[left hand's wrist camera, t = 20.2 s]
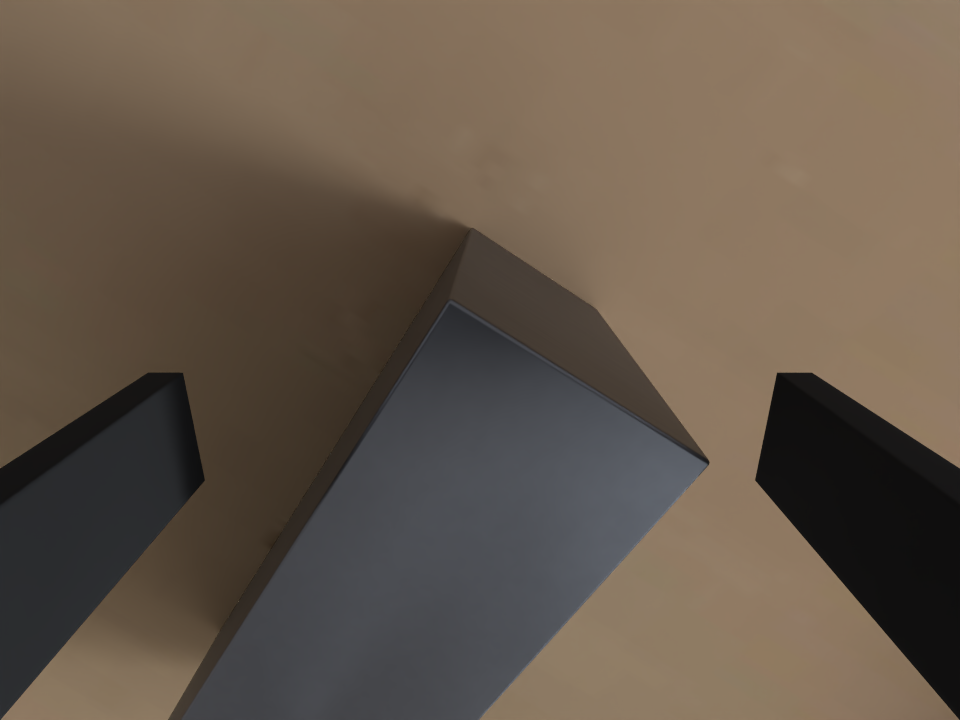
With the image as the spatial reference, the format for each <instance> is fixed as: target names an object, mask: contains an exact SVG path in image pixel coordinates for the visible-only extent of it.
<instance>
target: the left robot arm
mask: <svg viewBox="0 0 960 720" xmlns="http://www.w3.org/2000/svg"><path fill="white" fill-rule="evenodd" d="M204 481H205V479H204V474H203V469H202V464H201V459H200V454H199V449H198V445H197V440H196V435H195V430H194V425H193V420H192V415H191V410H190V405H189V400H188V396H187V391H186V386H185V381H184V376H183V373H147V374H146V375H144V376H142V377H141V378H139V379H138V380H136V381H135V382H133V383H132V384H130V385H129V386H127V387H125V388H124V389H122V390H121V391H119V392H118V393H116V394H115V395H113V396H112V397H110V398H108V399H107V400H105V401H104V402H102V403H101V404H99V405H98V406H96V407H95V408H93V409H92V410H90V411H88V412H87V413H85V414H84V415H82V416H81V417H79V418H78V419H76V420H75V421H73V422H71V423H70V424H68V425H67V426H65V427H64V428H62V429H61V430H59V431H58V432H56V433H54V434H53V435H51V436H50V437H48V438H47V439H45V440H44V441H42V442H41V443H39V444H37V445H36V446H34V447H33V448H31V449H30V450H28V451H27V452H25V453H24V454H22V455H21V456H19V457H17V458H16V459H14V460H13V461H11V462H10V463H8V464H7V465H5V466H4V467H2V468H0V720H1V718H2V717H3V716H4V715H5V714H6V713H7V711H8V710H9V709H10V708H11V707H12V706H13V704H14V703H15V702H16V701H17V700H18V699H19V697H20V696H21V695H22V694H23V693H24V691H25V690H26V689H27V688H28V687H29V686H30V684H31V683H32V682H33V681H34V680H35V679H36V677H37V676H38V675H39V674H40V673H41V672H42V670H43V669H44V668H45V667H46V666H47V665H48V663H49V662H50V661H51V660H52V659H53V658H54V656H55V655H56V654H57V653H58V652H59V650H60V649H61V648H62V647H63V646H64V645H65V643H66V642H67V641H68V640H69V639H70V638H71V636H72V635H73V634H74V633H75V632H76V631H77V629H78V628H79V627H80V626H81V625H82V624H83V622H84V621H85V620H86V619H87V618H88V617H89V615H90V614H91V613H92V612H93V611H94V609H95V608H96V607H97V606H98V605H99V604H100V602H101V601H102V600H103V599H104V598H105V597H106V595H107V594H108V593H109V592H110V591H111V590H112V588H113V587H114V586H115V585H116V584H117V583H118V581H119V580H120V579H121V578H122V577H123V575H124V574H125V573H126V572H127V571H128V570H129V568H130V567H131V566H132V565H133V564H134V563H135V561H136V560H137V559H138V558H139V557H140V556H141V554H142V553H143V552H144V551H145V550H146V549H147V547H148V546H149V545H150V544H151V543H152V542H153V540H154V539H155V538H156V537H157V536H158V534H159V533H160V532H161V531H162V530H163V529H164V527H165V526H166V525H167V524H168V523H169V522H170V520H171V519H172V518H173V517H174V516H175V515H176V513H177V512H178V511H179V510H180V509H181V508H182V506H183V505H184V504H185V503H186V502H187V500H188V499H189V498H190V497H191V496H192V495H193V493H194V492H195V491H196V490H197V489H198V488H199V486H200V485H201V484H202V483H203V482H204ZM755 481H756V482H757V483H758V484H759V485H760V486H761V488H762V489H763V490H764V491H765V492H766V493H767V495H768V496H769V497H770V498H771V499H772V500H773V502H774V503H775V504H776V505H777V506H778V508H779V509H780V510H781V511H782V512H783V513H784V515H785V516H786V517H787V518H788V519H789V520H790V522H791V523H792V524H793V525H794V526H795V527H796V529H797V530H798V531H799V532H800V533H801V534H802V536H803V537H804V538H805V539H806V540H807V542H808V543H809V544H810V545H811V546H812V547H813V549H814V550H815V551H816V552H817V553H818V554H819V556H820V557H821V558H822V559H823V560H824V561H825V563H826V564H827V565H828V566H829V567H830V568H831V570H832V571H833V572H834V573H835V574H836V575H837V577H838V578H839V579H840V580H841V581H842V583H843V584H844V585H845V586H846V587H847V588H848V590H849V591H850V592H851V593H852V594H853V595H854V597H855V598H856V599H857V600H858V601H859V602H860V604H861V605H862V606H863V607H864V608H865V609H866V611H867V612H868V613H869V614H870V615H871V617H872V618H873V619H874V620H875V621H876V622H877V624H878V625H879V626H880V627H881V628H882V629H883V631H884V632H885V633H886V634H887V635H888V636H889V638H890V639H891V640H892V641H893V642H894V643H895V645H896V646H897V647H898V648H899V649H900V650H901V652H902V653H903V654H904V655H905V656H906V658H907V659H908V660H909V661H910V662H911V663H912V665H913V666H914V667H915V668H916V669H917V670H918V672H919V673H920V674H921V675H922V676H923V677H924V679H925V680H926V681H927V682H928V683H929V684H930V686H931V687H932V688H933V689H934V690H935V692H936V693H937V694H938V695H939V696H940V697H941V699H942V700H943V701H944V702H945V703H946V704H947V706H948V707H949V708H950V709H951V710H952V711H953V713H954V714H955V715H956V716H957V717H958V718H959V720H960V468H958V467H956V466H955V465H953V464H952V463H950V462H949V461H947V460H946V459H944V458H943V457H941V456H939V455H938V454H936V453H935V452H933V451H932V450H930V449H929V448H927V447H926V446H924V445H922V444H921V443H919V442H918V441H916V440H915V439H913V438H912V437H910V436H909V435H907V434H906V433H904V432H902V431H901V430H899V429H898V428H896V427H895V426H893V425H892V424H890V423H889V422H887V421H885V420H884V419H882V418H881V417H879V416H878V415H876V414H875V413H873V412H872V411H870V410H868V409H867V408H865V407H864V406H862V405H861V404H859V403H858V402H856V401H855V400H853V399H852V398H850V397H848V396H847V395H845V394H844V393H842V392H841V391H839V390H838V389H836V388H835V387H833V386H831V385H830V384H828V383H827V382H825V381H824V380H822V379H821V378H819V377H818V376H816V375H814V374H813V373H777V376H776V381H775V386H774V391H773V396H772V400H771V405H770V410H769V415H768V420H767V425H766V430H765V435H764V440H763V445H762V449H761V454H760V459H759V464H758V469H757V474H756V479H755Z"/></svg>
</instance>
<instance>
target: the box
mask: <svg viewBox="0 0 960 720" xmlns="http://www.w3.org/2000/svg"><path fill="white" fill-rule="evenodd" d="M708 465H709V460H708V459H707V457H706V456H705V455H704V453H703V452H702V451H701V449H700V448H699V447H698V445H697V444H696V442H695V441H694V440H693V438H692V437H691V436H690V434H689V433H688V432H687V430H686V429H685V428H684V426H683V425H682V424H681V422H680V421H679V420H678V418H677V417H676V416H675V414H674V413H673V412H672V410H671V409H670V408H669V406H668V405H667V403H666V402H665V401H664V399H663V398H662V397H661V395H660V394H659V393H658V391H657V390H656V389H655V387H654V386H653V385H652V383H651V382H650V381H649V379H648V378H647V377H646V375H645V374H644V373H643V371H642V370H641V369H640V367H639V366H638V364H637V363H636V362H635V360H634V359H633V358H632V356H631V355H630V354H629V352H628V351H627V350H626V348H625V347H624V346H623V344H622V343H621V342H620V340H619V339H618V338H617V336H616V335H615V334H614V332H613V331H612V330H611V328H610V327H609V325H608V324H607V323H606V321H605V320H604V319H603V317H602V316H601V315H600V313H599V312H598V311H597V309H595V308H594V307H592V306H591V305H589V304H588V303H586V302H585V301H583V300H582V299H580V298H579V297H577V296H576V295H574V294H573V293H571V292H569V291H568V290H566V289H565V288H563V287H562V286H560V285H559V284H557V283H556V282H554V281H553V280H551V279H550V278H548V277H547V276H545V275H544V274H542V273H541V272H539V271H538V270H536V269H535V268H533V267H532V266H530V265H528V264H527V263H525V262H524V261H522V260H521V259H519V258H518V257H516V256H515V255H513V254H512V253H510V252H509V251H507V250H506V249H504V248H503V247H501V246H500V245H498V244H497V243H495V242H494V241H492V240H490V239H489V238H487V237H486V236H484V235H483V234H481V233H480V232H478V231H477V230H475V229H474V228H471V229H470V231H469V232H468V234H467V235H466V237H465V239H464V240H463V242H462V243H461V245H460V247H459V248H458V250H457V251H456V253H455V255H454V256H453V258H452V259H451V261H450V263H449V264H448V266H447V267H446V269H445V271H444V272H443V274H442V275H441V277H440V279H439V280H438V282H437V284H436V285H435V287H434V288H433V290H432V292H431V293H430V295H429V296H428V298H427V300H426V301H425V303H424V304H423V306H422V308H421V309H420V311H419V312H418V314H417V316H416V317H415V319H414V320H413V322H412V324H411V325H410V327H409V328H408V330H407V332H406V333H405V335H404V337H403V338H402V340H401V341H400V343H399V345H398V346H397V348H396V349H395V351H394V353H393V354H392V356H391V357H390V359H389V361H388V362H387V364H386V365H385V367H384V369H383V370H382V372H381V373H380V375H379V377H378V378H377V380H376V381H375V383H374V385H373V386H372V388H371V389H370V391H369V393H368V394H367V396H366V398H365V399H364V401H363V402H362V404H361V406H360V407H359V409H358V410H357V412H356V414H355V415H354V417H353V418H352V420H351V422H350V423H349V425H348V426H347V428H346V430H345V431H344V433H343V434H342V436H341V438H340V439H339V441H338V442H337V444H336V446H335V447H334V449H333V450H332V452H331V454H330V455H329V457H328V459H327V460H326V462H325V463H324V465H323V467H322V468H321V470H320V471H319V473H318V475H317V476H316V478H315V479H314V481H313V483H312V484H311V486H310V487H309V489H308V491H307V492H306V494H305V495H304V497H303V499H302V500H301V502H300V503H299V505H298V507H297V508H296V510H295V512H294V513H293V515H292V516H291V518H290V520H289V521H288V523H287V524H286V526H285V528H284V529H283V531H282V532H281V534H280V536H279V537H278V539H277V540H276V542H275V544H274V545H273V547H272V548H271V550H270V552H269V553H268V555H267V556H266V558H265V560H264V561H263V563H262V564H261V566H260V568H259V569H258V571H257V573H256V574H255V576H254V577H253V579H252V581H251V582H250V584H249V585H248V587H247V589H246V590H245V592H244V593H243V595H242V597H241V598H240V600H239V601H238V603H237V605H236V606H235V608H234V609H233V611H232V613H231V614H230V616H229V617H228V619H227V621H226V622H225V624H224V625H223V627H222V629H221V630H220V632H219V634H218V635H217V637H216V639H215V640H214V642H213V644H212V645H211V647H210V649H209V651H208V652H207V654H206V656H205V657H204V659H203V661H202V663H201V664H200V666H199V668H198V669H197V671H196V673H195V675H194V676H193V678H192V680H191V681H190V683H189V685H188V687H187V688H186V690H185V692H184V693H183V695H182V697H181V699H180V700H179V702H178V704H177V705H176V707H175V709H174V711H173V712H172V714H171V716H170V717H169V719H168V720H479V719H480V718H481V717H482V716H483V715H484V713H485V712H486V711H487V710H488V709H489V708H490V707H491V706H492V705H493V703H494V702H495V701H496V700H497V699H498V698H499V697H500V696H501V695H502V693H503V692H504V691H505V690H506V689H507V688H508V687H509V686H510V685H511V684H512V682H513V681H514V680H515V679H516V678H517V677H518V676H519V675H520V674H521V672H522V671H523V670H524V669H525V668H526V667H527V666H528V665H529V664H530V662H531V661H532V660H533V659H534V658H535V657H536V656H537V655H538V654H539V652H540V651H541V650H542V649H543V648H544V647H545V646H546V645H547V644H548V642H549V641H550V640H551V639H552V638H553V637H554V636H555V635H556V634H557V633H558V631H559V630H560V629H561V628H562V627H563V626H564V625H565V624H566V623H567V621H568V620H569V619H570V618H571V617H572V616H573V615H574V614H575V613H576V611H577V610H578V609H579V608H580V607H581V606H582V605H583V604H584V603H585V601H586V600H587V599H588V598H589V597H590V596H591V595H592V594H593V593H594V591H595V590H596V589H597V588H598V587H599V586H600V585H601V584H602V583H603V582H604V580H605V579H606V578H607V577H608V576H609V575H610V574H611V573H612V572H613V570H614V569H615V568H616V567H617V566H618V565H619V564H620V563H621V562H622V560H623V559H624V558H625V557H626V556H627V555H628V554H629V553H630V552H631V550H632V549H633V548H634V547H635V546H636V545H637V544H638V543H639V542H640V541H641V539H642V538H643V537H644V536H645V535H646V534H647V533H648V532H649V531H650V529H651V528H652V527H653V526H654V525H655V524H656V523H657V522H658V521H659V519H660V518H661V517H662V516H663V515H664V514H665V513H666V512H667V511H668V509H669V508H670V507H671V506H672V505H673V504H674V503H675V502H676V501H677V499H678V498H679V497H680V496H681V495H682V494H683V493H684V492H685V491H686V490H687V488H688V487H689V486H690V485H691V484H692V483H693V482H694V481H695V480H696V478H697V477H698V476H699V475H700V474H701V473H702V472H703V471H704V470H705V468H706V467H707V466H708Z"/></svg>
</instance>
